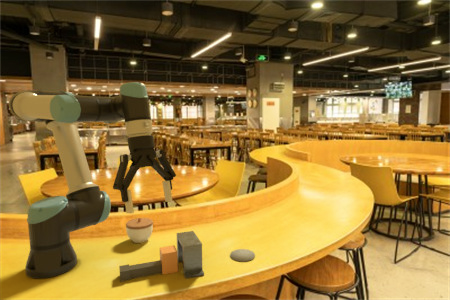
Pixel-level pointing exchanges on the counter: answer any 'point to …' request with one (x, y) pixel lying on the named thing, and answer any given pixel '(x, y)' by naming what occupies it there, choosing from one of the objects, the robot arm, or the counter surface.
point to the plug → (152, 265)
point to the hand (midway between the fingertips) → (150, 207)
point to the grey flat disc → (242, 255)
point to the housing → (190, 254)
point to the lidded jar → (139, 229)
